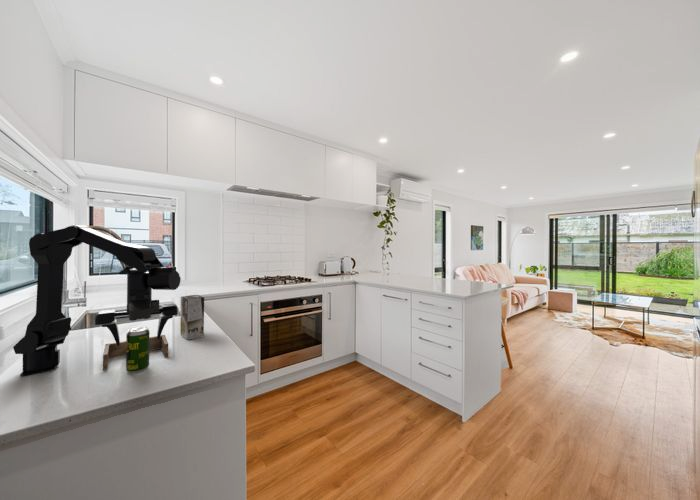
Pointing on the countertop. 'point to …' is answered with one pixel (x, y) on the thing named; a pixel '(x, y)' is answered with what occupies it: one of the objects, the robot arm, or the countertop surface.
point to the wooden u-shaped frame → (115, 350)
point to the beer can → (137, 349)
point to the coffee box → (192, 316)
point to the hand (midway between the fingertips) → (139, 342)
